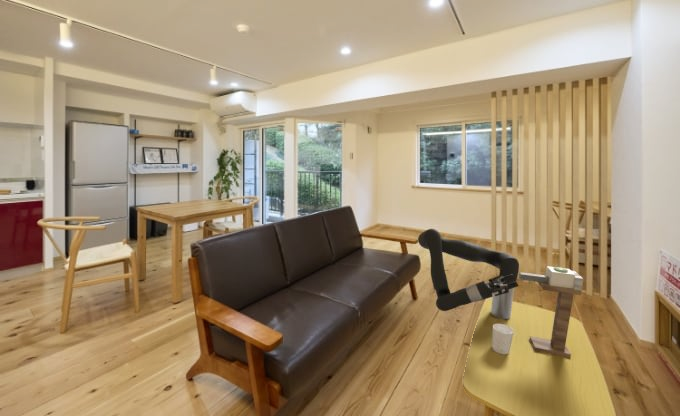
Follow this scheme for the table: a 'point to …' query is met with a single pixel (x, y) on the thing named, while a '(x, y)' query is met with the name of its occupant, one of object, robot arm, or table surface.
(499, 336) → the white cup
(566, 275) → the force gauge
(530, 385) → the table surface
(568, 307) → the wooden pedestal stand
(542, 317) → the table surface
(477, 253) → the robot arm
